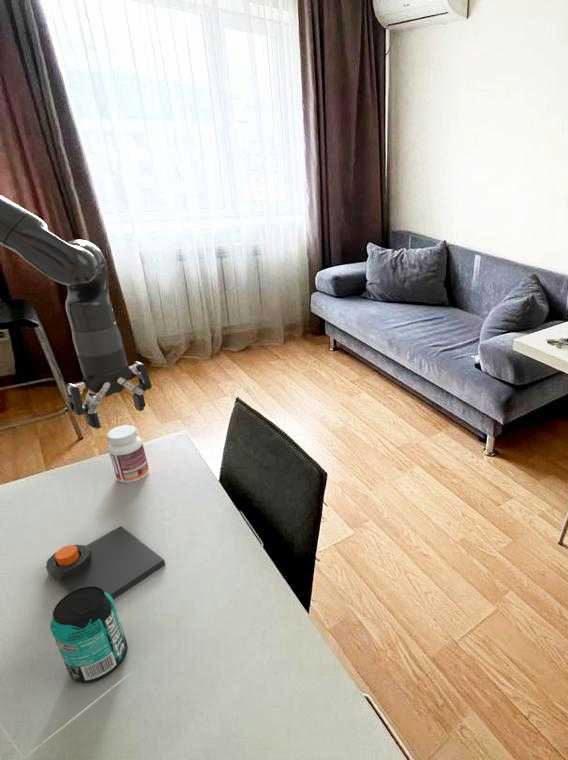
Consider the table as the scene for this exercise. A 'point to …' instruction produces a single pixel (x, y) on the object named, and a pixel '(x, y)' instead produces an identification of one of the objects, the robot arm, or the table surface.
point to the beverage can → (88, 634)
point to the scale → (108, 564)
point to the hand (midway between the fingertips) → (118, 418)
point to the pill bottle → (127, 454)
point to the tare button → (67, 555)
